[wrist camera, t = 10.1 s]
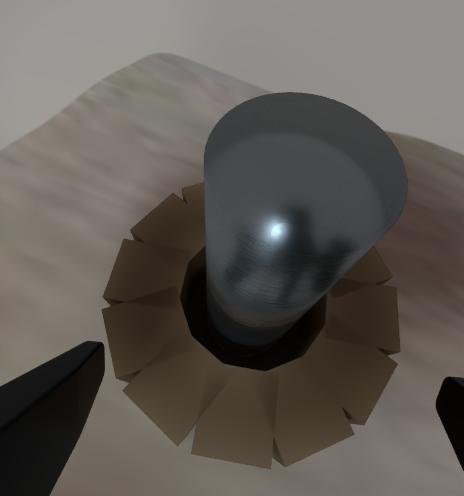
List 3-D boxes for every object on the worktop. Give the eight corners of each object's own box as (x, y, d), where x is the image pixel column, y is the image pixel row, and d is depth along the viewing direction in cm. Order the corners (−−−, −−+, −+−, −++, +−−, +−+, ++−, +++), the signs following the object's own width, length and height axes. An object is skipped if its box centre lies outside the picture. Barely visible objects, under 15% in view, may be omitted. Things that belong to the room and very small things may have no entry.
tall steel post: (295, 340, 17) (449, 217, 6) (222, 368, 16) (249, 284, 5) (265, 272, 18) (344, 78, 8) (197, 294, 18) (178, 113, 7)
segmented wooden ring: (403, 390, 16) (459, 385, 12) (163, 499, 14) (147, 532, 10) (298, 197, 21) (316, 153, 17) (106, 252, 18) (81, 213, 15)
